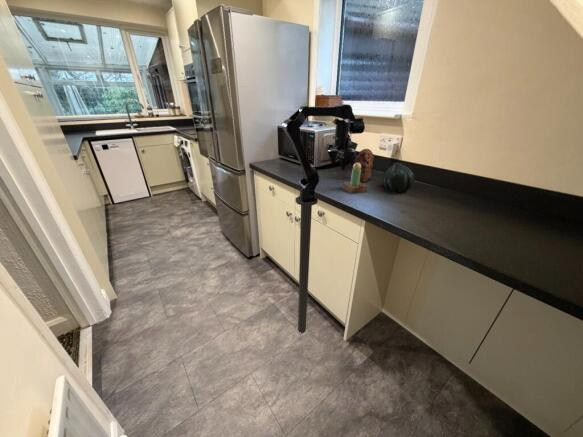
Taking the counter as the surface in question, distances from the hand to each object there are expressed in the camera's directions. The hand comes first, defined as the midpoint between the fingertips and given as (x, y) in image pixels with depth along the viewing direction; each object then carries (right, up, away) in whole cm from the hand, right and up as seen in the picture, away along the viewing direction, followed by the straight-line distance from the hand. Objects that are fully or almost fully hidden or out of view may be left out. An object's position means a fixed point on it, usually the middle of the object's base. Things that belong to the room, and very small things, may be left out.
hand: (338, 167), depth 115 cm
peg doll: (+10, -7, +8) cm, 15 cm away
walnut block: (+10, -10, +9) cm, 17 cm away
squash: (+33, -10, +10) cm, 36 cm away
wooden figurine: (+19, -2, +24) cm, 31 cm away
